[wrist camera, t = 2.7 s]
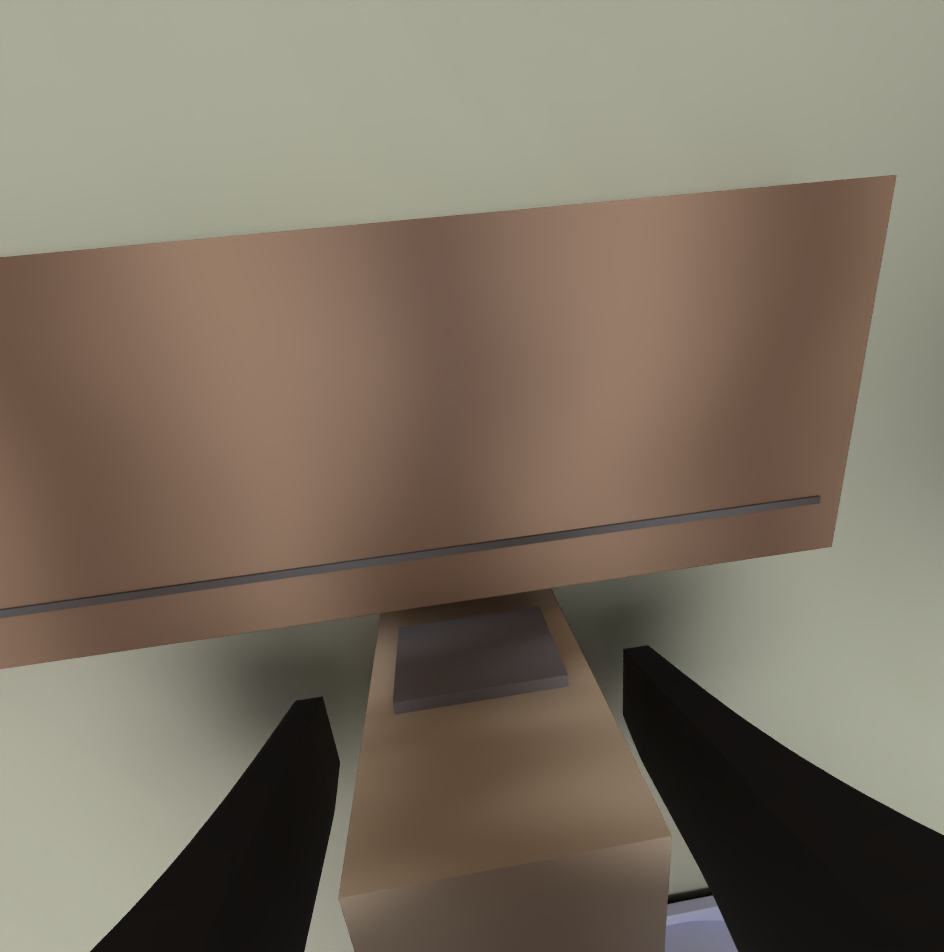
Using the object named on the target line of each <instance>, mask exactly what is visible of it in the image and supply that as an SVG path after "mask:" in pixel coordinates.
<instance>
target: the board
mask: <svg viewBox="0 0 944 952" xmlns="http://www.w3.org/2000/svg"><path fill="white" fill-rule="evenodd" d="M895 181H896V175H889V176H879V177H868V178H857V179H846V180H835V181H824V182H814V183H803V184H792V185H781V186H770V187H759V188H748V189H738V190H727V191H716V192H705V193H694V194H683V195H673V196H662V197H651V198H640V199H629V200H618V201H607V202H597V203H586V204H575V205H564V206H553V207H542V208H532V209H521V210H510V211H499V212H488V213H477V214H466V215H456V216H445V217H434V218H423V219H412V220H401V221H391V222H380V223H369V224H358V225H347V226H336V227H325V228H315V229H304V230H293V231H282V232H271V233H260V234H250V235H239V236H228V237H217V238H206V239H195V240H184V241H174V242H163V243H152V244H141V245H130V246H119V247H109V248H98V249H87V250H76V251H65V252H54V253H43V254H33V255H22V256H11V257H0V669H4V668H11V667H18V666H25V665H31V664H38V663H45V662H52V661H59V660H65V659H72V658H79V657H86V656H92V655H99V654H106V653H113V652H120V651H126V650H133V649H140V648H147V647H154V646H160V645H167V644H174V643H181V642H188V641H194V640H201V639H208V638H215V637H222V636H228V635H235V634H242V633H249V632H256V631H262V630H269V629H276V628H283V627H290V626H296V625H303V624H310V623H317V622H324V621H330V620H337V619H344V618H351V617H358V616H364V615H371V614H378V613H385V612H392V611H398V610H405V609H412V608H419V607H426V606H432V605H439V604H446V603H453V602H460V601H466V600H473V599H480V598H487V597H494V596H500V595H507V594H514V593H521V592H528V591H534V590H541V589H548V588H555V587H562V586H568V585H575V584H582V583H589V582H595V581H602V580H609V579H616V578H623V577H629V576H636V575H643V574H650V573H657V572H663V571H670V570H677V569H684V568H691V567H697V566H704V565H711V564H718V563H725V562H731V561H738V560H745V559H752V558H759V557H765V556H772V555H779V554H786V553H793V552H799V551H806V550H813V549H820V548H827V547H832V541H833V536H834V530H835V524H836V518H837V513H838V507H839V501H840V496H841V490H842V484H843V478H844V473H845V467H846V461H847V456H848V450H849V444H850V438H851V433H852V427H853V421H854V416H855V410H856V404H857V398H858V393H859V387H860V381H861V375H862V370H863V364H864V358H865V353H866V347H867V341H868V335H869V330H870V324H871V318H872V313H873V307H874V301H875V295H876V290H877V284H878V278H879V273H880V267H881V261H882V255H883V250H884V244H885V238H886V233H887V227H888V221H889V215H890V210H891V204H892V198H893V192H894V187H895Z"/></svg>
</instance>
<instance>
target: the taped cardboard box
mask: <svg viewBox="0 0 944 952" xmlns="http://www.w3.org/2000/svg"><path fill="white" fill-rule="evenodd" d="M671 840H672V835H671V833H670V831H669V829H668V827H667V825H666V823H665V821H664V819H663V817H662V815H661V813H660V811H659V809H658V807H657V805H656V803H655V801H654V799H653V796H652V794H651V792H650V790H649V788H648V786H647V784H646V782H645V780H644V778H643V776H642V774H641V772H640V770H639V768H638V766H637V764H636V762H635V760H634V758H633V756H632V753H631V751H630V749H629V747H628V745H627V743H626V741H625V739H624V737H623V735H622V733H621V731H620V729H619V727H618V725H617V723H616V721H615V719H614V717H613V715H612V713H611V710H610V708H609V706H608V704H607V702H606V700H605V698H604V696H603V694H602V692H601V690H600V688H599V686H598V684H597V682H596V680H595V678H594V676H593V674H592V672H591V669H590V667H589V665H588V663H587V661H586V659H585V657H584V655H583V653H582V651H581V649H580V647H579V645H578V643H577V641H576V639H575V637H574V635H573V633H572V631H571V629H570V626H569V624H568V622H567V620H566V618H565V616H564V614H563V612H562V610H561V608H560V606H559V604H558V602H557V600H556V598H555V596H554V594H553V592H552V590H551V588H548V589H541V590H534V591H528V592H521V593H514V594H507V595H500V596H494V597H487V598H480V599H473V600H466V601H460V602H453V603H446V604H439V605H432V606H426V607H419V608H412V609H405V610H398V611H392V612H385V613H381V616H380V623H379V630H378V636H377V643H376V650H375V656H374V663H373V670H372V677H371V683H370V690H369V697H368V703H367V710H366V717H365V723H364V730H363V737H362V744H361V750H360V757H359V764H358V770H357V777H356V784H355V790H354V797H353V804H352V811H351V817H350V824H349V831H348V837H347V844H346V851H345V857H344V864H343V871H342V878H341V884H340V891H339V898H338V899H339V902H340V905H341V909H342V912H343V915H344V918H345V921H346V925H347V928H348V931H349V934H350V938H351V941H352V944H353V947H354V951H355V952H665V937H666V921H667V905H668V889H669V873H670V857H671Z"/></svg>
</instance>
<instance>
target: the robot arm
mask: <svg viewBox="0 0 944 952" xmlns="http://www.w3.org/2000/svg"><path fill="white" fill-rule="evenodd" d="M623 716H624V719H625V721H626V724H627V726H628V729H629V731H630V734H631V736H632V739H633V741H634V744H635V746H636V748H637V751H638V753H639V756H640V758H641V760H642V762H643V764H644V766H645V768H646V770H647V772H648V773H649V775H650V777H651V779H652V781H653V783H654V785H655V787H656V788H657V790H658V792H659V794H660V796H661V798H662V800H663V802H664V803H665V805H666V807H667V809H668V811H669V813H670V814H671V816H672V818H673V820H674V822H675V824H676V826H677V827H678V829H679V831H680V833H681V835H682V837H683V839H684V840H685V842H686V844H687V846H688V848H689V850H690V852H691V853H692V855H693V857H694V859H695V861H696V863H697V864H698V866H699V868H700V870H701V872H702V874H703V876H704V878H705V880H706V882H707V884H708V886H709V888H710V890H711V892H712V894H713V895H712V896H707V897H702V898H696V899H691V900H686V901H681V902H676V903H671V904H668V905H667V921H666V937H665V952H944V835H942V834H940V833H938V832H936V831H934V830H932V829H930V828H928V827H926V826H924V825H922V824H920V823H918V822H916V821H914V820H912V819H910V818H908V817H906V816H904V815H903V814H901V813H899V812H897V811H895V810H893V809H891V808H889V807H888V806H886V805H884V804H882V803H880V802H878V801H876V800H874V799H873V798H871V797H869V796H867V795H865V794H863V793H862V792H860V791H858V790H856V789H854V788H853V787H851V786H849V785H847V784H846V783H844V782H842V781H840V780H839V779H837V778H835V777H834V776H832V775H830V774H829V773H827V772H825V771H824V770H822V769H820V768H819V767H817V766H815V765H814V764H812V763H810V762H809V761H807V760H805V759H804V758H802V757H800V756H799V755H797V754H796V753H794V752H793V751H791V750H789V749H788V748H786V747H785V746H783V745H782V744H780V743H779V742H777V741H776V740H774V739H773V738H771V737H770V736H768V735H767V734H765V733H764V732H762V731H761V730H759V729H758V728H757V727H755V726H754V725H752V724H751V723H749V722H748V721H746V720H745V719H744V718H742V717H741V716H739V715H738V714H737V713H735V712H734V711H732V710H731V709H730V708H728V707H727V706H726V705H724V704H723V703H722V702H720V701H719V700H718V699H716V698H715V697H713V696H712V695H711V694H709V693H708V692H707V691H706V690H704V689H703V688H702V687H700V686H699V685H698V684H696V683H695V682H694V681H693V680H691V679H690V678H689V677H688V676H686V675H685V674H684V673H682V672H681V671H680V670H679V669H677V668H676V667H675V666H674V665H672V664H671V663H670V662H668V661H667V660H666V659H665V658H663V657H662V656H661V655H660V654H658V653H657V652H656V651H655V650H653V649H652V648H651V647H649V646H648V645H647V646H641V647H634V648H628V649H623ZM339 767H340V760H339V756H338V753H337V749H336V745H335V741H334V738H333V734H332V730H331V726H330V723H329V719H328V715H327V711H326V708H325V704H324V700H323V697H317V698H311V699H304V700H298V701H295V703H294V704H293V705H292V706H291V708H290V709H289V711H288V712H287V713H286V715H285V716H284V718H283V719H282V721H281V722H280V723H279V725H278V726H277V728H276V729H275V730H274V732H273V733H272V735H271V736H270V738H269V739H268V740H267V742H266V743H265V745H264V746H263V747H262V749H261V750H260V752H259V753H258V754H257V756H256V757H255V759H254V760H253V761H252V763H251V764H250V765H249V767H248V768H247V769H246V771H245V772H244V773H243V775H242V776H241V778H240V779H239V780H238V782H237V783H236V784H235V786H234V787H233V788H232V790H231V791H230V792H229V794H228V795H227V796H226V798H225V799H224V800H223V801H222V803H221V804H220V805H219V806H218V808H217V809H216V810H215V811H214V813H213V814H212V815H211V816H210V818H209V819H208V820H207V822H206V823H205V824H204V825H203V827H202V828H201V829H200V830H199V832H198V833H197V834H196V835H195V837H194V838H193V839H192V840H191V841H190V843H189V844H188V845H187V846H186V848H185V849H184V850H183V851H182V852H181V853H180V855H179V856H178V857H177V858H176V859H175V861H174V862H173V863H172V864H171V865H170V866H169V867H168V869H167V870H166V871H165V872H164V873H163V874H162V876H161V877H160V878H159V879H158V880H157V881H156V882H155V883H154V885H153V886H152V887H151V888H150V889H149V890H148V891H147V892H146V893H145V895H144V896H143V897H142V898H141V899H140V900H139V901H138V902H137V903H136V905H135V906H134V907H133V908H132V909H131V910H130V911H129V912H128V913H127V914H126V915H125V916H124V917H123V918H122V919H121V920H120V921H119V923H118V924H117V925H116V926H115V927H114V928H113V929H112V930H111V931H110V932H109V933H108V934H107V935H106V936H105V937H104V938H103V939H102V940H101V941H100V942H99V943H98V944H97V945H96V946H95V947H94V948H93V949H92V950H91V951H90V952H304V951H305V946H306V941H307V936H308V932H309V927H310V923H311V918H312V913H313V909H314V904H315V900H316V895H317V891H318V886H319V882H320V877H321V873H322V868H323V863H324V859H325V854H326V850H327V845H328V840H329V836H330V831H331V826H332V821H333V817H334V811H335V803H336V795H337V786H338V776H339Z"/></svg>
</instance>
